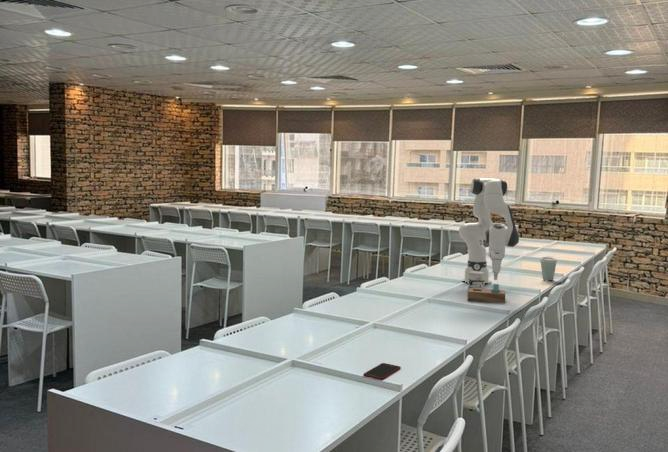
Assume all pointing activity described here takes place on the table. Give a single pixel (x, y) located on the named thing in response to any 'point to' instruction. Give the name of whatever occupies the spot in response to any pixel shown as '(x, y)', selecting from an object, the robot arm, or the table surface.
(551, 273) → the disposable coffee cup
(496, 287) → the pin
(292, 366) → the table surface
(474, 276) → the ink box
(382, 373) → the cell phone
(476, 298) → the block
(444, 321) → the table surface
